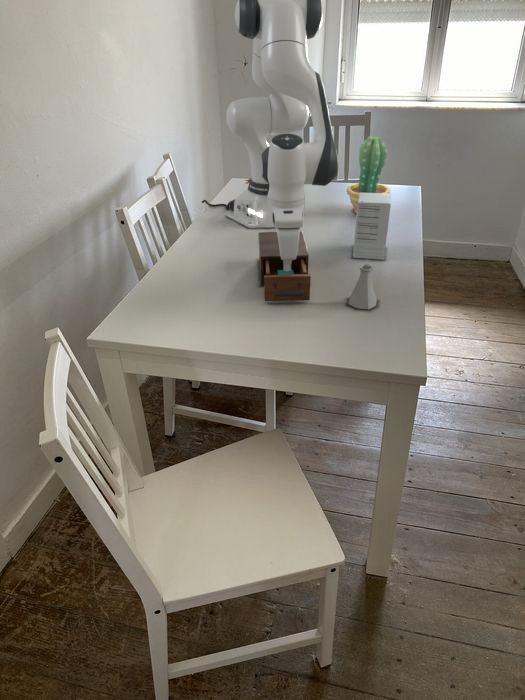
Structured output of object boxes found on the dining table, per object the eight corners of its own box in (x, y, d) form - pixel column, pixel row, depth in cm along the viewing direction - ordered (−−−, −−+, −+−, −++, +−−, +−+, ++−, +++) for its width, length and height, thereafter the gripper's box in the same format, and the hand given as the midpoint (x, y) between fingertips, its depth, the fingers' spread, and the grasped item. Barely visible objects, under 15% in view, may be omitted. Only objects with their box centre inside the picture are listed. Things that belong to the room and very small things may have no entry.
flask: (370, 312, 130) (374, 276, 124) (343, 305, 133) (346, 269, 127) (381, 300, 135) (385, 264, 129) (355, 293, 138) (358, 258, 132)
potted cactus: (392, 207, 192) (402, 134, 178) (382, 221, 180) (391, 144, 166) (351, 201, 197) (357, 130, 183) (338, 215, 186) (344, 140, 172)
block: (278, 290, 135) (278, 276, 133) (277, 283, 139) (277, 269, 136) (293, 290, 135) (294, 276, 133) (292, 283, 139) (292, 269, 137)
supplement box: (384, 260, 154) (391, 203, 145) (352, 258, 156) (357, 202, 146) (384, 247, 162) (391, 192, 153) (354, 245, 164) (359, 191, 154)
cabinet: (307, 284, 142) (308, 255, 137) (260, 286, 142) (260, 256, 137) (301, 258, 156) (302, 231, 151) (259, 260, 156) (258, 232, 151)
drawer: (312, 311, 129) (313, 286, 125) (265, 313, 128) (265, 288, 125) (303, 273, 146) (304, 250, 142) (262, 274, 146) (262, 251, 142)
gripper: (271, 194, 134) (271, 245, 142) (275, 223, 117) (275, 280, 125) (295, 194, 134) (294, 245, 142) (303, 223, 117) (301, 279, 125)
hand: (285, 261), depth 133 cm, fingers open, 8 cm apart
